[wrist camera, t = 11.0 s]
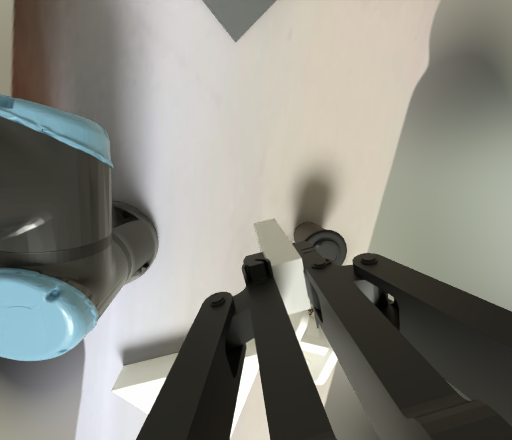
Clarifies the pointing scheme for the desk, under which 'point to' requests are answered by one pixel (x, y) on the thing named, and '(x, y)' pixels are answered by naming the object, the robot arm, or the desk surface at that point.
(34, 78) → the desk surface
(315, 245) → the coffee cup
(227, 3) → the mat
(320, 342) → the cable organizer
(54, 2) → the desk surface
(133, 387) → the triangle block
